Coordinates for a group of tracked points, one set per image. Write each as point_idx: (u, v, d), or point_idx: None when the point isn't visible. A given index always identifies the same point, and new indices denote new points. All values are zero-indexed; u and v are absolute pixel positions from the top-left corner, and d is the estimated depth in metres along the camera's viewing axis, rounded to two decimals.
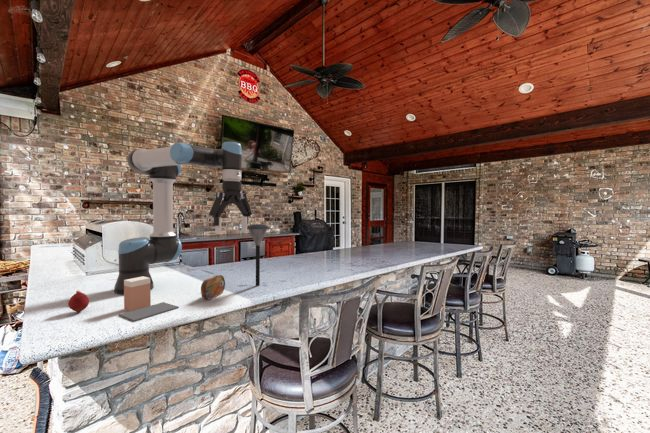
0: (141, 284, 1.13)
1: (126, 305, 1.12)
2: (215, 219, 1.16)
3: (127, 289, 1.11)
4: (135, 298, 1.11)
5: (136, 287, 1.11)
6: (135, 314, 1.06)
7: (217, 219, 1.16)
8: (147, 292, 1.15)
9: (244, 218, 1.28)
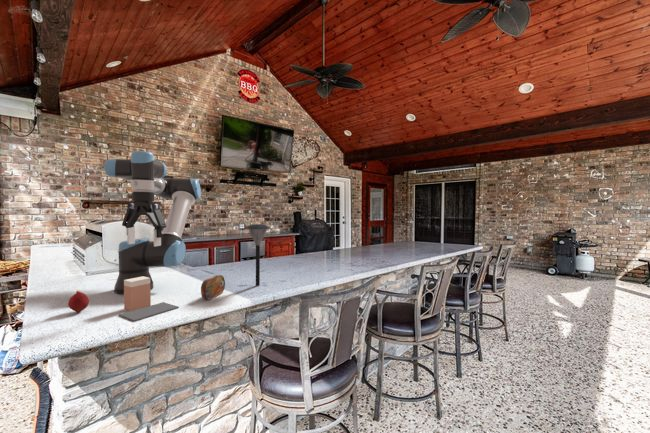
0: (141, 284, 1.13)
1: (126, 305, 1.12)
2: None
3: (127, 289, 1.11)
4: (135, 298, 1.11)
5: (136, 287, 1.11)
6: (135, 314, 1.06)
7: None
8: (147, 292, 1.15)
9: None
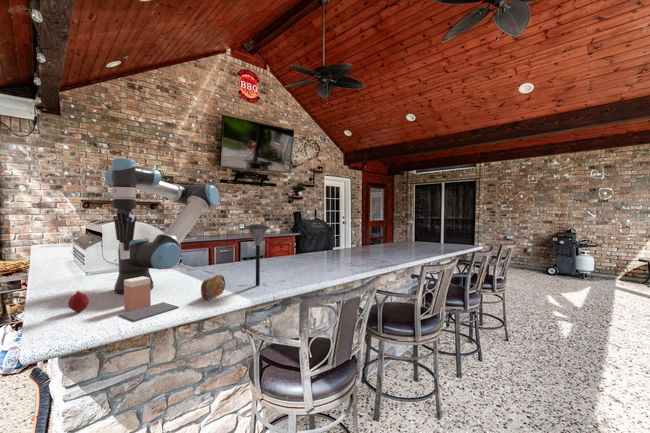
0: (141, 284, 1.13)
1: (126, 305, 1.12)
2: None
3: (127, 289, 1.11)
4: (135, 298, 1.11)
5: (136, 287, 1.11)
6: (135, 314, 1.06)
7: None
8: (147, 292, 1.15)
9: None
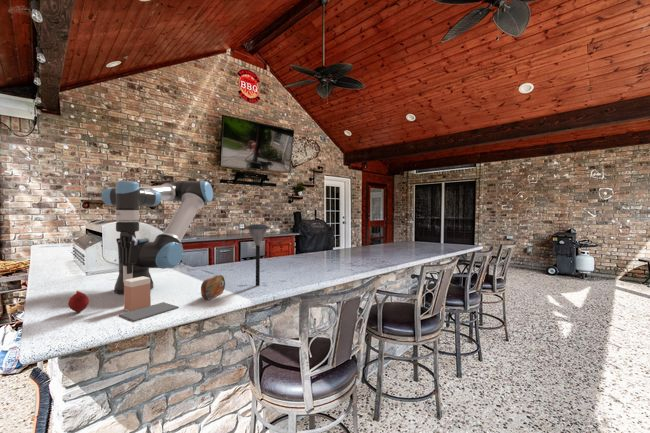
0: (141, 284, 1.13)
1: (126, 305, 1.12)
2: None
3: (127, 289, 1.11)
4: (135, 298, 1.11)
5: (136, 287, 1.11)
6: (135, 314, 1.06)
7: None
8: (147, 292, 1.15)
9: None
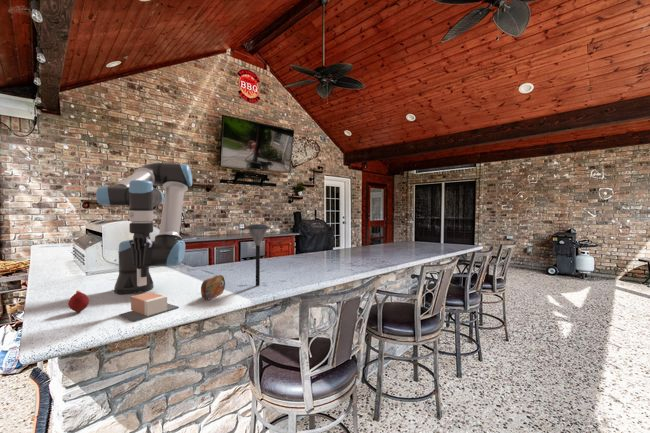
0: None
1: (133, 301, 1.09)
2: None
3: (142, 308, 1.06)
4: None
5: None
6: (135, 314, 1.06)
7: None
8: None
9: None
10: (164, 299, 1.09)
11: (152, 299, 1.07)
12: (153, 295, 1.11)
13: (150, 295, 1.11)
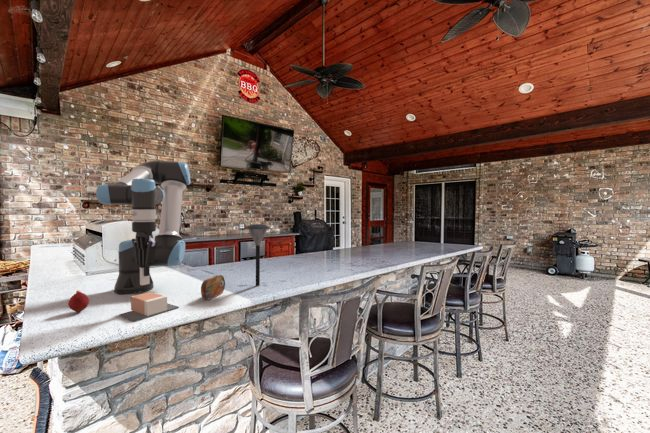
0: None
1: (133, 301, 1.09)
2: None
3: (142, 308, 1.06)
4: None
5: None
6: (135, 314, 1.06)
7: None
8: None
9: None
10: (164, 299, 1.09)
11: (152, 299, 1.07)
12: (153, 295, 1.11)
13: (150, 295, 1.11)
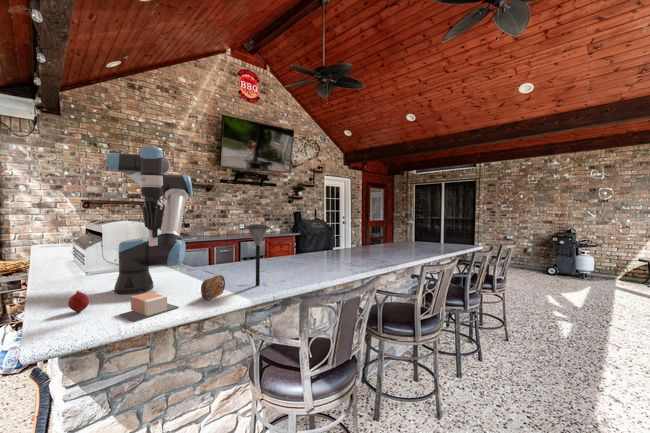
0: None
1: (133, 301, 1.09)
2: None
3: (142, 308, 1.06)
4: None
5: None
6: (135, 314, 1.06)
7: (149, 231, 1.20)
8: None
9: None
10: (164, 299, 1.09)
11: (152, 299, 1.07)
12: (153, 295, 1.11)
13: (150, 295, 1.11)
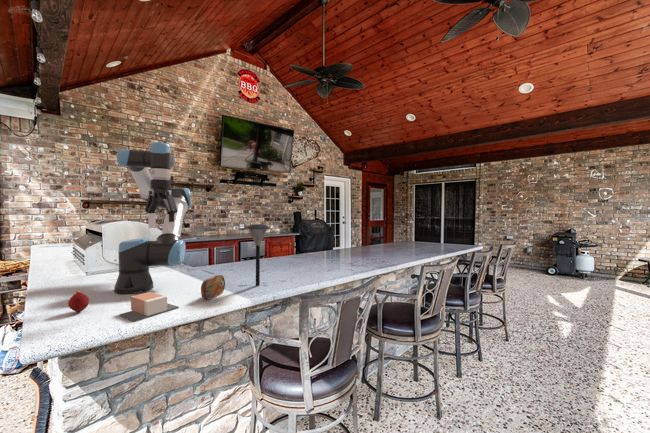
0: None
1: (133, 301, 1.09)
2: None
3: (142, 308, 1.06)
4: None
5: None
6: (135, 314, 1.06)
7: None
8: None
9: None
10: (164, 299, 1.09)
11: (152, 299, 1.07)
12: (153, 295, 1.11)
13: (150, 295, 1.11)
